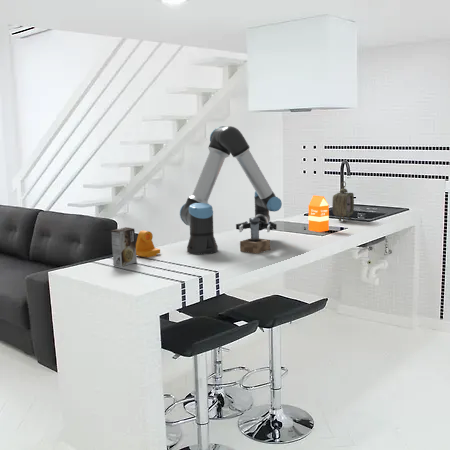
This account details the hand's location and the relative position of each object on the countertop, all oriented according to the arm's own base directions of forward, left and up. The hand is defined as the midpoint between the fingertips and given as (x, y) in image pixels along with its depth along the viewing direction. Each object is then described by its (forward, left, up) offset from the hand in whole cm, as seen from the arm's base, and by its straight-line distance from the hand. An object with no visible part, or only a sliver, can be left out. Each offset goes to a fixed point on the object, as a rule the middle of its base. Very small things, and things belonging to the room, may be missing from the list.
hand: (253, 229), depth 282 cm
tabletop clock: (+43, +93, -11) cm, 103 cm away
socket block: (0, +3, -11) cm, 11 cm away
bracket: (-51, -10, -11) cm, 53 cm away
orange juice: (+29, +60, -11) cm, 68 cm away
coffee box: (-56, -28, -11) cm, 64 cm away
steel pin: (0, +3, -11) cm, 11 cm away
